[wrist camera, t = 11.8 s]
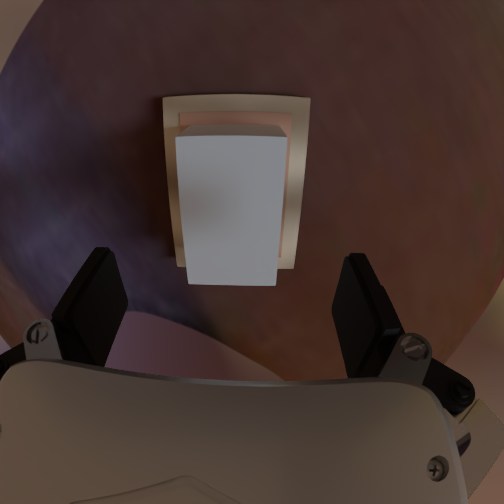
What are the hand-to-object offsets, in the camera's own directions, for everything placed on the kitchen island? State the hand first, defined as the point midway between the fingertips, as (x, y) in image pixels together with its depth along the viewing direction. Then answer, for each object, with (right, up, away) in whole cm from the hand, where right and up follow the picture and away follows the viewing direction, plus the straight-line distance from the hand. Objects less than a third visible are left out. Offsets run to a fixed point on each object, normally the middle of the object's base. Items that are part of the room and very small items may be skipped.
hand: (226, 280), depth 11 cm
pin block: (0, +6, +11) cm, 12 cm away
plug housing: (0, +5, +10) cm, 11 cm away
